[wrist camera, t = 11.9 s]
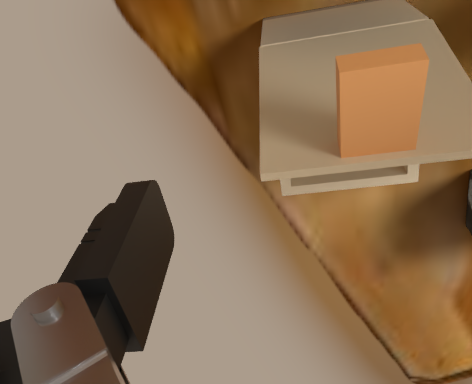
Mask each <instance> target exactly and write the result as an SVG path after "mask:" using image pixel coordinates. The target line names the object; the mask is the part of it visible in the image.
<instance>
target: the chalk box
mask: <svg viewBox="0 0 472 384" xmlns="http://www.w3.org/2000/svg"><path fill="white" fill-rule="evenodd" d="M466 227H467V228H468V229H469V231H470V233H471V235H472V170H471V172H470V179H469V189H468V203H467V213H466Z"/></svg>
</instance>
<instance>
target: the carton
mask: <svg viewBox="0 0 472 384" xmlns="http://www.w3.org/2000/svg"><path fill="white" fill-rule="evenodd" d="M423 20H429V18H428V17H427V16H426V15H424V14H423V13H421V12H420V11H419V10H417V9H416V8H415V7H413V6H412V5H410V4H409V3H408V2H406V1H405V0H366V1H360V2H355V3H349V4H343V5H337V6H332V7H326V8H320V9H314V10H309V11H303V12H297V13H291V14H286V15H280V16H274V17H268V18H263V25H262V35H261V45H260V46H261V47H264V46H270V45H276V44H282V43H288V42H294V41H301V40H307V39H313V38H319V37H325V36H331V35H337V34H343V33H350V32H356V31H362V30H368V29H374V28H380V27H386V26H392V25H399V24H405V23H411V22H417V21H423ZM418 175H419V164H415V165H406V166H397V167H388V168H379V169H370V170H361V171H352V172H343V173H334V174H325V175H316V176H307V177H298V178H289V179H280V184H281V190H282V196H287V195H297V194H306V193H316V192H326V191H335V190H345V189H354V188H364V187H373V186H383V185H392V184H402V183H412V182H418Z"/></svg>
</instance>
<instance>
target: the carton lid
mask: <svg viewBox="0 0 472 384" xmlns="http://www.w3.org/2000/svg"><path fill="white" fill-rule="evenodd" d="M259 110H260V177H261V181H271V180H280V179H289V178H298V177H307V176H316V175H325V174H334V173H343V172H352V171H361V170H370V169H379V168H388V167H397V166H406V165H415V164H424V163H433V162H442V161H451V160H460V159H469V158H472V82H471V80H470V79H469V77H468V76H467V74H466V72H465V71H464V69H463V67H462V66H461V64H460V63H459V61H458V59H457V58H456V56H455V55H454V53H453V51H452V50H451V48H450V47H449V45H448V43H447V42H446V40H445V39H444V37H443V35H442V34H441V32H440V31H439V29H438V27H437V26H436V24H435V23H434V21H433V19H429V20H423V21H417V22H411V23H405V24H399V25H392V26H386V27H380V28H374V29H368V30H362V31H356V32H350V33H343V34H337V35H331V36H325V37H319V38H313V39H307V40H301V41H294V42H288V43H282V44H276V45H270V46H264V47H259Z"/></svg>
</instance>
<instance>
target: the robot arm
mask: <svg viewBox="0 0 472 384" xmlns="http://www.w3.org/2000/svg"><path fill="white" fill-rule="evenodd" d="M173 248H174V231H173V226H172V223H171V220H170V217H169V214H168V211H167V208H166V205H165V202H164V199H163V196H162V193H161V190H160V188H159V185H158V183H157V182H156V181H155V180H149V181H141V182H132V183H127V184H125V186H124V187H123V189H122V191H121V193H120V195H119V197H118V199H117V200H116V202H115V203H110V204H109V205H107V206H106V207H105V208H104V209H103V210H102V211H101V212H100V213H98V214H97V215H96V216H95V218H94V220H93V221H92V223H91V225H90V227H89V228H88V233H86V234H85V235H84V237H83V239H82V240H81V244H79V246H78V247H77V249H76V251H75V253H74V254H73V256H72V258H71V259H70V261H69V263H68V265H67V267H66V268H65V270H64V272H63V273H62V275H61V277H60V279H59V280H58V282H57V283H55V284H51V285H48V286H46V287H43V288H41V289H39V290H37V291H36V292H34V293H32V294H31V295H30V296H29V297H27V298H26V299H25V300H24V301H23V302H22V303H21V304H20V305H19V306H18V307H17V309H16V310H15V312H14V314H13V316H12V319H9V320H6V321H3V322H0V384H130V382H129V380H128V378H127V376H126V374H125V372H124V370H123V368H122V366H121V363H122V360H123V357H124V354H125V352H135V351H143V350H144V346H145V343H146V339H147V336H148V333H149V329H150V326H151V323H152V319H153V316H154V313H155V309H156V305H157V302H158V299H159V295H160V292H161V289H162V285H163V282H164V278H165V275H166V272H167V268H168V265H169V261H170V258H171V255H172V251H173Z"/></svg>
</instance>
